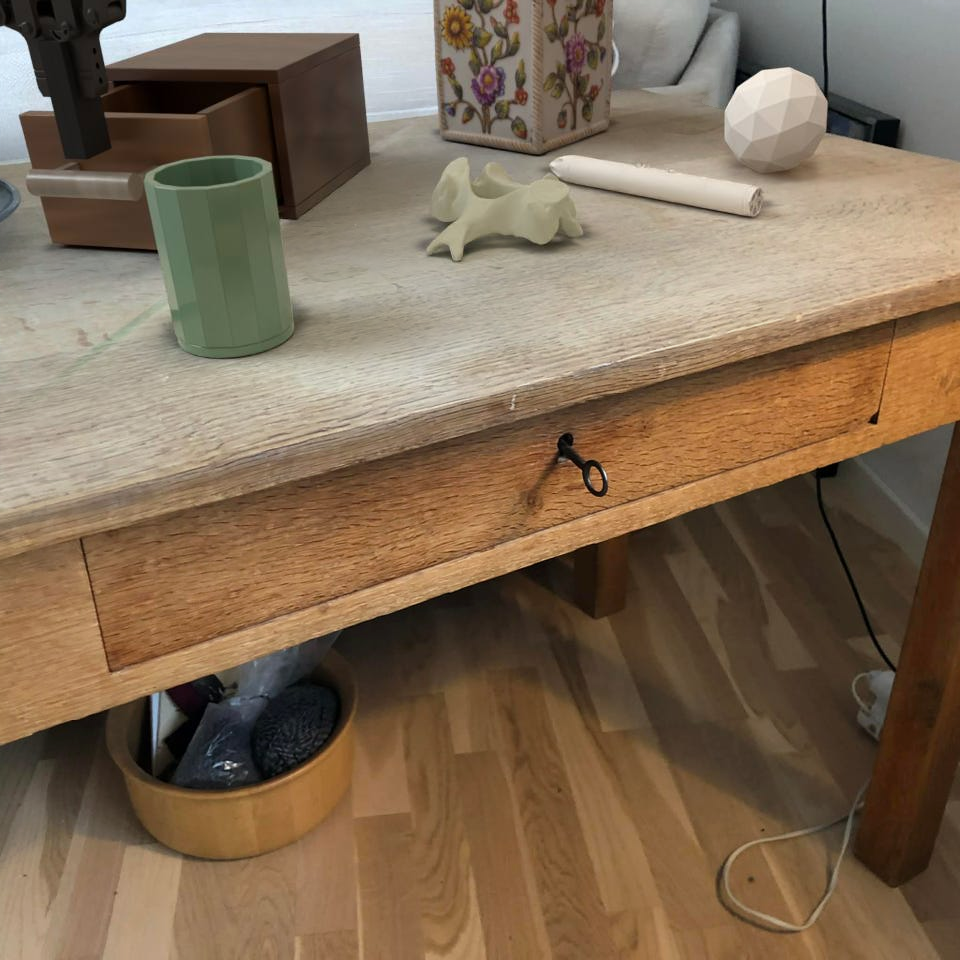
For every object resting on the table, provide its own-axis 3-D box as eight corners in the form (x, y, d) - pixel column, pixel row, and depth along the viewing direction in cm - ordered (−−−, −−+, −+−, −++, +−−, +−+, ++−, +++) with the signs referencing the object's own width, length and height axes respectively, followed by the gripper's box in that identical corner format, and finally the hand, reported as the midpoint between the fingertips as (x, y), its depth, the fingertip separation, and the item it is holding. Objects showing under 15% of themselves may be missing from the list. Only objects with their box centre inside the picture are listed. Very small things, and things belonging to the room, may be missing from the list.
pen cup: (155, 353, 55) (118, 186, 50) (212, 307, 60) (183, 153, 55) (264, 363, 53) (236, 192, 49) (312, 315, 59) (292, 156, 54)
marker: (541, 181, 81) (541, 150, 79) (556, 175, 82) (557, 145, 81) (747, 220, 71) (751, 186, 69) (762, 213, 72) (765, 179, 71)
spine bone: (381, 264, 71) (366, 200, 67) (471, 199, 76) (462, 137, 72) (517, 309, 64) (508, 241, 61) (606, 235, 69) (602, 169, 66)
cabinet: (297, 219, 74) (277, 69, 69) (130, 210, 78) (98, 67, 72) (371, 162, 87) (359, 32, 82) (225, 157, 91) (204, 32, 85)
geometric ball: (766, 211, 81) (747, 142, 74) (718, 153, 85) (696, 84, 79) (853, 157, 80) (841, 82, 73) (799, 102, 84) (783, 26, 78)
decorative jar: (538, 157, 87) (537, -83, 77) (435, 140, 93) (422, -84, 84) (614, 129, 94) (621, -93, 85) (514, 115, 101) (510, -93, 91)
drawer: (188, 278, 62) (160, 136, 57) (10, 266, 65) (-29, 130, 60) (310, 189, 77) (295, 72, 73) (162, 183, 80) (140, 70, 76)
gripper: (136, -343, 51) (215, 141, 63) (-83, -324, 54) (33, 135, 66) (45, -367, 45) (152, 174, 57) (-196, -345, 48) (-44, 165, 60)
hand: (88, 153), depth 62 cm, fingers closed
